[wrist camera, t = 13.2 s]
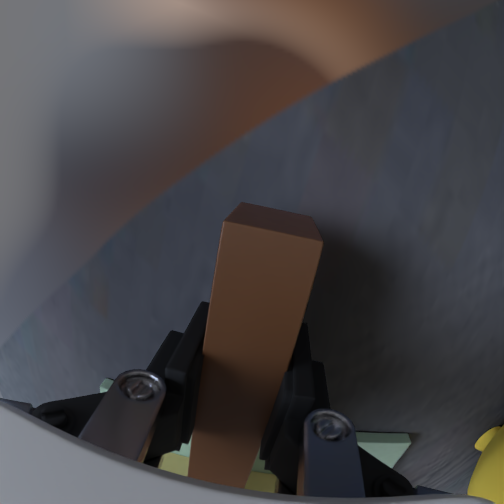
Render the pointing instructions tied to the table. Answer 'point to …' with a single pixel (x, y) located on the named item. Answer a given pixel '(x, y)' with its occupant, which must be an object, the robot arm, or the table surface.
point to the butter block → (261, 482)
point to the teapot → (489, 467)
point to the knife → (250, 335)
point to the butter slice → (175, 464)
